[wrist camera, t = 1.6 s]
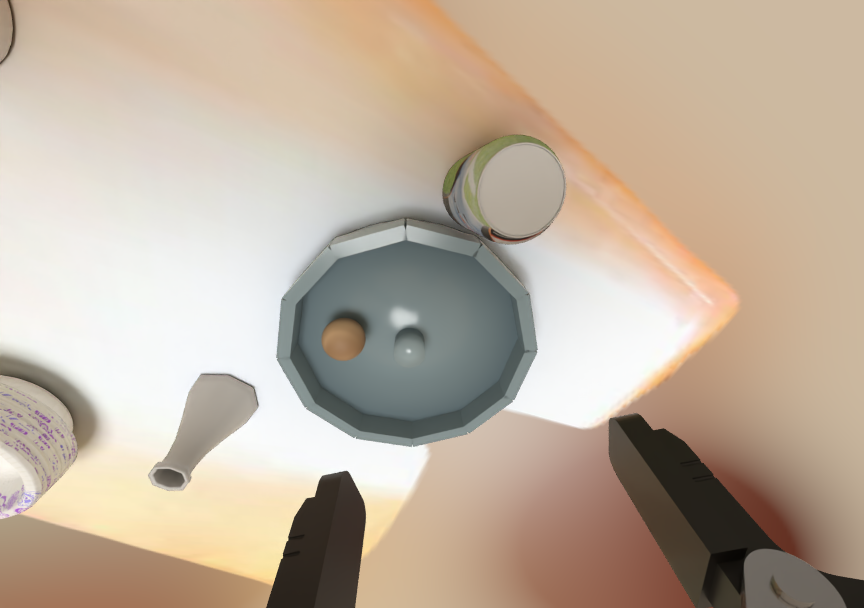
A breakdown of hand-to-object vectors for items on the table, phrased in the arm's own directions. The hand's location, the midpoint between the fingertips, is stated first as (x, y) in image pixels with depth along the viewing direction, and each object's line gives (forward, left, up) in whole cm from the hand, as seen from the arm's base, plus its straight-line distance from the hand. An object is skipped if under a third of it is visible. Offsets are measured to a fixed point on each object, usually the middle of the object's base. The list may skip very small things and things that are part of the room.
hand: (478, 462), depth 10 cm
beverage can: (-4, +5, -24) cm, 24 cm away
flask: (+11, -27, -24) cm, 37 cm away
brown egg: (+6, -10, -22) cm, 25 cm away
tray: (+9, -5, -23) cm, 25 cm away
